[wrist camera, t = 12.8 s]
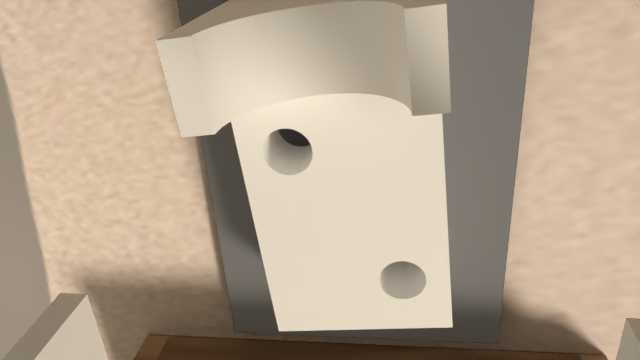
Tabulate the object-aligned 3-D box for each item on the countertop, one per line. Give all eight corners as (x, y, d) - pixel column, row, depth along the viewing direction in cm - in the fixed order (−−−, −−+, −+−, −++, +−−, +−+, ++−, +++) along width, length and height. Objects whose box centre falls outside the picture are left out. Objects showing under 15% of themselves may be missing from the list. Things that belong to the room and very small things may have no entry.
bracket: (236, -4, 20) (155, 40, 13) (429, -31, 19) (446, 3, 12) (293, 279, 26) (256, 410, 19) (445, 273, 24) (463, 411, 18)
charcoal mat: (175, -48, 20) (169, -47, 20) (537, -71, 18) (542, -70, 18) (238, 324, 28) (234, 332, 28) (495, 334, 26) (497, 343, 26)
